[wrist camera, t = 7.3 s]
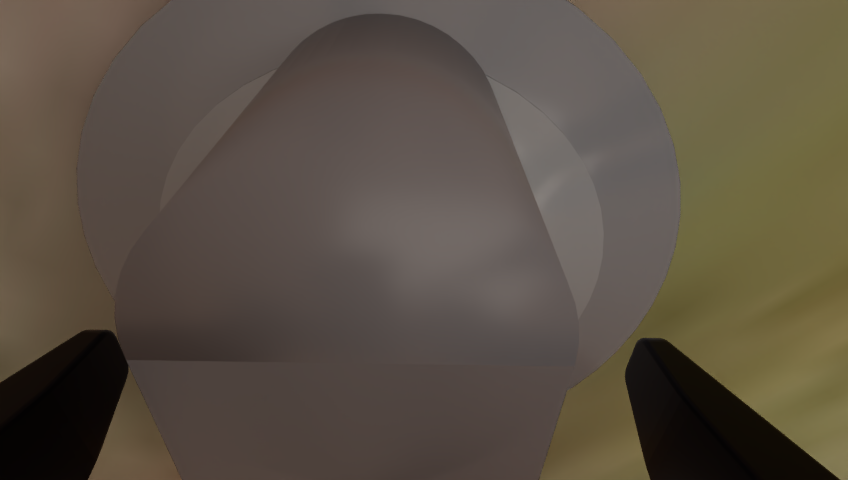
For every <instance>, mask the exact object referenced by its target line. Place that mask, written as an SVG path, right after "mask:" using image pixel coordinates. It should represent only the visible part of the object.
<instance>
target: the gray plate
mask: <svg viewBox="0 0 848 480" xmlns="http://www.w3.org/2000/svg"><path fill="white" fill-rule="evenodd" d="M382 13H383V14H392V15H401V16H405V17H409V18H413V19H417V20H419V21H422V22H424V23H427V24H429V25H432V26H434V27H436V28H437V29H439V30H441V31H443V32H444V33H446V34H448V35H449V36H451V37H452V38H453V39H454V40H456V41H457V42H458V43H460V44H461V45H462V46H463V47H464V48H465V49H466V50H467V51H468V52H469V53H470V54H471V55H472V56H473V57H474V59H475V60H476V61H477V63H478V64H479V66H480V67H481V68H482V70H483V71H484V73H485V75H486V77H487V79H488V81H489V82H490V85H491V87H492V90H493V92H494V95H495V97H496V100H497V102H498V105H499V108H500V110H501V113H502V115H503V118H504V120H505V123H506V125H507V128H508V131H509V133H510V136H511V138H512V141H513V143H514V146H515V148H516V151H517V154H518V156H519V159H520V161H521V164H522V166H523V169H524V171H525V174H526V177H527V179H528V182H529V184H530V187H531V189H532V192H533V195H534V197H535V200H536V202H537V205H538V207H539V210H540V212H541V215H542V218H543V220H544V223H545V225H546V228H547V230H548V233H549V235H550V238H551V241H552V243H553V246H554V248H555V251H556V253H557V256H558V258H559V261H560V264H561V266H562V269H563V271H564V274H565V276H566V279H567V282H568V284H569V287H570V290H571V292H572V295H573V298H574V300H575V303H576V309H577V315H578V321H579V347H578V352H577V357H576V361H575V366H574V369H573V373H572V376H571V379H570V382H569V385H568V389H567V390H569V389H571V388H572V387H574V386H575V385H577V384H578V383H579V382H581V381H582V380H583V379H585V378H586V377H588V376H589V375H590V374H592V373H593V372H594V371H596V370H597V369H598V368H599V367H600V366H601V365H602V364H603V363H604V362H606V361H607V360H608V359H609V358H610V357H611V356H612V355H613V354H614V353H615V352H617V350H618V349H619V348H620V347H621V346H622V345H623V344H624V342H625V341H626V340H627V339H628V338H629V337H630V335H631V334H632V333H633V332H634V331H635V330H636V328H637V327H638V325H639V324H640V322H641V321H642V319H643V318H644V316H645V315H646V313H647V312H648V310H649V309H650V307H651V306H652V304H653V302H654V300H655V298H656V296H657V294H658V292H659V290H660V288H661V286H662V284H663V282H664V280H665V278H666V275H667V272H668V269H669V266H670V263H671V259H672V256H673V253H674V250H675V246H676V240H677V234H678V227H679V221H680V178H679V172H678V166H677V160H676V154H675V149H674V145H673V142H672V139H671V136H670V133H669V131H668V128H667V125H666V122H665V119H664V116H663V114H662V111H661V109H660V107H659V105H658V103H657V102H656V100H655V98H654V96H653V94H652V93H651V91H650V89H649V87H648V86H647V84H646V82H645V80H644V78H643V77H642V75H641V73H640V72H639V71H638V70H637V68H636V67H635V66H634V65H633V63H632V62H631V61H630V60H629V58H628V57H627V56H626V55H625V53H624V52H623V51H622V50H621V49H620V47H619V46H618V45H617V44H616V42H615V41H614V40H613V39H612V38H611V37H610V36H609V35H608V34H606V33H605V32H604V31H603V30H602V29H601V28H600V27H599V26H598V25H596V24H595V23H594V22H593V21H592V20H591V19H590V18H589V17H587V16H586V15H585V14H584V13H583V12H582V11H581V10H580V9H579V8H577V7H576V6H574V5H573V4H571V3H570V2H568V1H567V0H171V1H170V2H169V3H168V4H166V5H165V6H164V7H163V8H162V9H161V10H159V11H158V12H157V13H156V14H155V15H153V16H152V17H151V18H150V19H149V20H148V21H146V22H145V23H144V24H143V25H142V26H141V27H140V28H139V29H138V30H137V32H136V33H135V34H134V35H133V36H132V38H131V39H130V40H129V41H128V43H127V44H126V45H125V46H124V47H123V49H122V50H121V51H120V52H119V53H118V55H117V56H116V57H115V58H114V60H113V61H112V63H111V65H110V67H109V69H108V70H107V72H106V74H105V76H104V78H103V80H102V81H101V83H100V85H99V87H98V89H97V90H96V92H95V94H94V96H93V99H92V102H91V105H90V108H89V111H88V114H87V117H86V120H85V123H84V126H83V129H82V133H81V141H80V148H79V155H78V162H77V191H78V206H79V211H80V216H81V221H82V226H83V231H84V236H85V239H86V241H87V244H88V247H89V250H90V252H91V255H92V258H93V261H94V263H95V266H96V268H97V270H98V272H99V274H100V276H101V278H102V279H103V281H104V283H105V285H106V287H107V289H108V291H109V293H110V294H111V296H112V298H113V299H114V300H115V293H116V289H117V284H118V280H119V276H120V272H121V270H122V268H123V265H124V263H125V261H126V259H127V257H128V255H129V252H130V250H131V249H132V247H133V246H134V245H135V243H136V242H137V241H138V239H139V238H140V236H141V235H142V234H143V232H144V231H145V230H146V228H147V227H148V226H149V225H150V223H151V222H152V221H153V220H154V219H155V217H156V216H157V215H158V214H159V213H160V211H161V210H162V209H163V208H164V206H165V205H166V204H167V203H168V202H169V200H170V199H171V198H172V197H173V196H174V194H175V193H176V192H177V191H178V189H179V188H180V187H181V186H182V185H183V183H184V182H185V181H186V180H187V179H188V177H189V176H190V175H191V174H192V173H193V171H194V170H195V169H196V168H197V166H198V165H199V164H200V163H201V162H202V160H203V159H204V158H205V157H206V156H207V154H208V153H209V152H210V151H211V149H212V148H213V147H214V146H215V145H216V143H217V142H218V141H219V140H220V139H221V137H222V136H223V135H224V134H225V132H226V131H227V130H228V129H229V128H230V126H231V125H232V124H233V123H234V122H235V120H236V119H237V118H238V117H239V115H240V114H241V113H242V112H243V111H244V109H245V108H246V107H247V106H248V105H249V103H250V102H251V101H252V100H253V98H254V97H255V96H256V95H257V94H258V92H259V91H260V90H261V89H262V88H263V86H264V85H265V84H266V83H267V81H268V80H269V79H270V78H271V77H272V75H273V74H274V73H275V72H276V71H277V69H278V68H279V67H280V66H281V64H282V63H283V62H284V61H285V60H286V58H287V57H288V56H289V55H290V54H291V52H292V51H293V50H294V49H295V48H296V47H297V46H298V45H299V44H300V43H301V42H302V41H303V40H305V39H306V38H307V37H309V36H310V35H311V34H313V33H314V32H316V31H317V30H319V29H321V28H323V27H325V26H327V25H329V24H331V23H333V22H336V21H339V20H342V19H345V18H347V17H352V16H358V15H363V14H382Z"/></svg>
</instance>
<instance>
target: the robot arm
mask: <svg viewBox="0 0 848 480" xmlns="http://www.w3.org/2000/svg"><path fill="white" fill-rule="evenodd" d="M127 375H128V363H127V361H126V359H125V356H124V353H123V351H122V348H121V346H120V344H119V342H118V340H117V338H116V336H115V334H114V333H113V332H111V331H109V330H84V331H82V332H80V333H78V334H77V335H75V336H73V337H72V338H70V339H69V340H67V341H66V342H64V343H62V344H61V345H59V346H58V347H56V348H54V349H53V350H51V351H50V352H48V353H46V354H45V355H43V356H42V357H40V358H39V359H37V360H35V361H34V362H32V363H31V364H29V365H27V366H26V367H24V368H23V369H21V370H20V371H18V372H16V373H15V374H13V375H12V376H10V377H8V378H7V379H5V380H4V381H2V382H0V480H88V478H89V476H90V474H91V472H92V470H93V468H94V465H95V463H96V461H97V458H98V456H99V453H100V451H101V448H102V446H103V443H104V440H105V437H106V434H107V432H108V429H109V426H110V423H111V420H112V418H113V415H114V412H115V409H116V407H117V404H118V401H119V398H120V395H121V393H122V390H123V387H124V384H125V382H126V379H127ZM625 380H626V385H627V390H628V394H629V398H630V402H631V406H632V411H633V415H634V419H635V423H636V427H637V432H638V436H639V440H640V444H641V448H642V452H643V456H644V460H645V464H646V467H647V470H648V473H649V476H650V479H651V480H840V479H839V478H837V477H836V476H835V475H834V474H832V473H831V472H830V471H829V470H827V469H826V468H825V467H824V466H822V465H821V464H820V463H819V462H817V461H816V460H815V459H814V458H812V457H811V456H810V455H809V454H808V453H806V452H805V451H804V450H803V449H801V448H800V447H799V446H798V445H796V444H795V443H794V442H793V441H791V440H790V439H789V438H788V437H786V436H785V435H784V434H783V433H781V432H780V431H779V430H778V429H776V428H775V427H774V426H773V425H771V424H770V423H769V422H768V421H766V420H765V419H764V418H763V417H761V416H760V415H759V414H758V413H757V412H755V411H754V410H753V409H752V408H750V407H749V406H748V405H747V404H745V403H744V402H743V401H742V400H740V399H739V398H738V397H737V396H735V395H734V394H733V393H732V392H730V391H729V390H728V389H727V388H725V387H724V386H723V385H722V384H720V383H719V382H718V381H717V380H715V379H714V378H713V377H712V376H710V375H709V374H708V373H707V372H706V371H704V370H703V369H702V368H701V367H699V366H698V365H697V364H696V363H694V362H693V361H692V360H691V359H689V358H688V357H687V356H686V355H684V354H683V353H682V352H681V351H679V350H678V349H677V348H676V347H674V346H673V345H672V344H671V343H669V342H668V341H667V340H665V339H661V338H641V339H640V340H638V341H637V343H636V345H635V348H634V350H633V352H632V355H631V357H630V360H629V362H628V365H627V368H626V372H625Z"/></svg>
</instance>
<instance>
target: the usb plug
mask: <svg viewBox="0 0 848 480" xmlns="http://www.w3.org/2000/svg"><path fill="white" fill-rule="evenodd" d="M115 323H116V329H117V334H118V340H119V342H120V345H121V348H122V350H123V353H124V356H125V359H126V361H127V363H128V365H129V367H130V370H131V372H132V374H133V376H134V378H135V380H136V382H137V385H138V387H139V389H140V391H141V393H142V395H143V397H144V400H145V402H146V404H147V406H148V408H149V410H150V412H151V415H152V417H153V419H154V421H155V423H156V425H157V427H158V430H159V432H160V434H161V436H162V438H163V440H164V442H165V444H166V447H167V449H168V451H169V453H170V455H171V457H172V459H173V462H174V464H175V466H176V468H177V470H178V472H179V474H180V477H181V479H182V480H539V478H540V475H541V472H542V469H543V465H544V462H545V459H546V456H547V453H548V449H549V446H550V443H551V440H552V437H553V433H554V430H555V427H556V424H557V421H558V417H559V414H560V411H561V408H562V405H563V401H564V398H565V395H566V392H567V389H568V385H569V382H570V379H571V376H572V373H573V369H574V366H575V361H576V357H577V352H578V347H579V321H578V315H577V309H576V303H575V300H574V298H573V295H572V292H571V290H570V287H569V284H568V282H567V279H566V276H565V274H564V271H563V269H562V266H561V264H560V261H559V258H558V256H557V253H556V251H555V248H554V246H553V243H552V241H551V238H550V235H549V233H548V230H547V228H546V225H545V223H544V220H543V218H542V215H541V212H540V210H539V207H538V205H537V202H536V200H535V197H534V195H533V192H532V189H531V187H530V184H529V182H528V179H527V177H526V174H525V171H524V169H523V166H522V164H521V161H520V159H519V156H518V154H517V151H516V148H515V146H514V143H513V141H512V138H511V136H510V133H509V131H508V128H507V125H506V123H505V120H504V118H503V115H502V113H501V110H500V108H499V105H498V102H497V100H496V97H495V95H494V92H493V90H492V87H491V85H490V82H489V81H488V79H487V77H486V75H485V73H484V71H483V70H482V68H481V67H480V66H479V64H478V63H477V61H476V60H475V59H474V57H473V56H472V55H471V54H470V53H469V52H468V51H467V50H466V49H465V48H464V47H463V46H462V45H461V44H460V43H458V42H457V41H456V40H454V39H453V38H452V37H451V36H449V35H448V34H446V33H444V32H443V31H441V30H439V29H437V28H436V27H434V26H432V25H429V24H427V23H424V22H422V21H419V20H417V19H413V18H409V17H405V16H401V15H392V14H383V13H382V14H363V15H358V16H352V17H347V18H345V19H342V20H339V21H336V22H333V23H331V24H329V25H327V26H325V27H323V28H321V29H319V30H317V31H316V32H314V33H313V34H311V35H310V36H309V37H307V38H306V39H305V40H303V41H302V42H301V43H300V44H299V45H298V46H297V47H296V48H295V49H294V50H293V51H292V52H291V54H290V55H289V56H288V57H287V58H286V60H285V61H284V62H283V63H282V64H281V66H280V67H279V68H278V69H277V71H276V72H275V73H274V74H273V75H272V77H271V78H270V79H269V80H268V81H267V83H266V84H265V85H264V86H263V88H262V89H261V90H260V91H259V92H258V94H257V95H256V96H255V97H254V98H253V100H252V101H251V102H250V103H249V105H248V106H247V107H246V108H245V109H244V111H243V112H242V113H241V114H240V115H239V117H238V118H237V119H236V120H235V122H234V123H233V124H232V125H231V126H230V128H229V129H228V130H227V131H226V132H225V134H224V135H223V136H222V137H221V139H220V140H219V141H218V142H217V143H216V145H215V146H214V147H213V148H212V149H211V151H210V152H209V153H208V154H207V156H206V157H205V158H204V159H203V160H202V162H201V163H200V164H199V165H198V166H197V168H196V169H195V170H194V171H193V173H192V174H191V175H190V176H189V177H188V179H187V180H186V181H185V182H184V183H183V185H182V186H181V187H180V188H179V189H178V191H177V192H176V193H175V194H174V196H173V197H172V198H171V199H170V200H169V202H168V203H167V204H166V205H165V206H164V208H163V209H162V210H161V211H160V213H159V214H158V215H157V216H156V217H155V219H154V220H153V221H152V222H151V223H150V225H149V226H148V227H147V228H146V230H145V231H144V232H143V234H142V235H141V236H140V238H139V239H138V241H137V242H136V243H135V245H134V246H133V247H132V249H131V250H130V252H129V255H128V257H127V259H126V261H125V263H124V265H123V268H122V270H121V272H120V276H119V280H118V284H117V289H116V293H115Z"/></svg>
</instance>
